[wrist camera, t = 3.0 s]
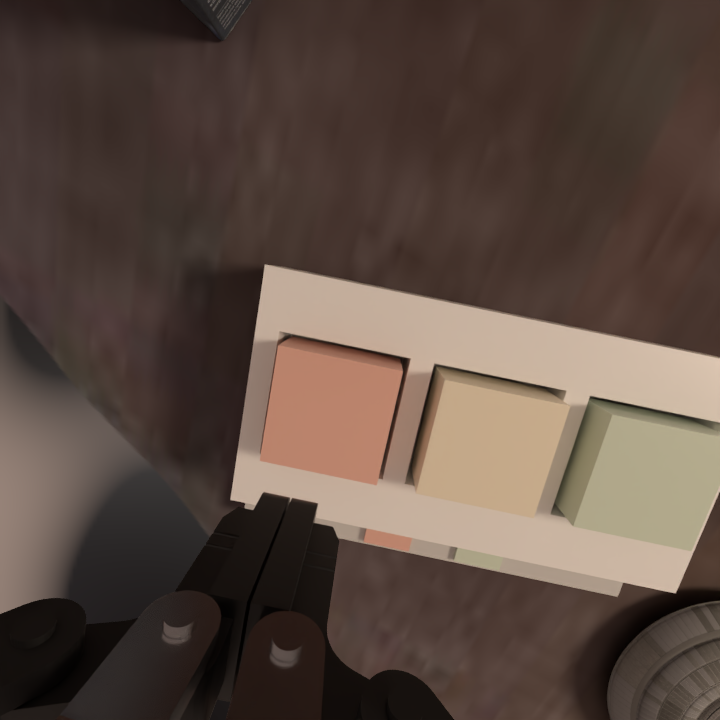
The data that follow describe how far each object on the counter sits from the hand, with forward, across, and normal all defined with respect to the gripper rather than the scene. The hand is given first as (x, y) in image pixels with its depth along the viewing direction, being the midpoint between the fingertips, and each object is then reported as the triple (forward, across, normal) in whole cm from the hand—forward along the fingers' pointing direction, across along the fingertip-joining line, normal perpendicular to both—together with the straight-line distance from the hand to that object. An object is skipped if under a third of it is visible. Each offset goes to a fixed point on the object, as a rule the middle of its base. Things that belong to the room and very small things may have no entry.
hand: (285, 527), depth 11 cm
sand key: (+12, -8, 0) cm, 14 cm away
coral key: (+12, 0, 0) cm, 12 cm away
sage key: (+12, -16, 0) cm, 20 cm away
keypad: (+15, -8, +2) cm, 17 cm away
